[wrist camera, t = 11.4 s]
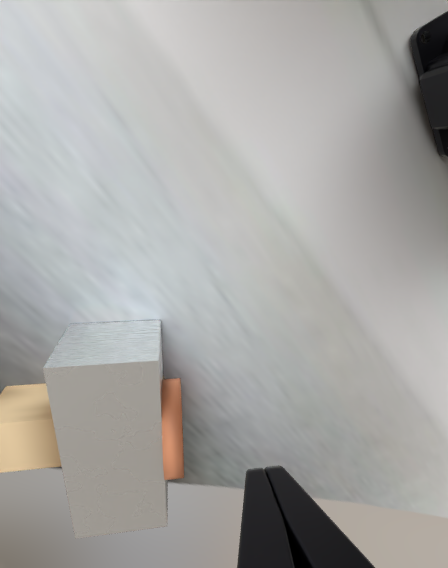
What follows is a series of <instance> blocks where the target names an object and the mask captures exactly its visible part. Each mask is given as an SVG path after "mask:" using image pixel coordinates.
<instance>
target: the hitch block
mask: <svg viewBox="0 0 448 568" xmlns="http://www.w3.org/2000/svg"><path fill="white" fill-rule="evenodd" d="M43 371H44V376H45V381H46V386H47V392H48V397H49V402H50V408H51V413H52V418H53V423H54V429H55V434H56V439H57V444H58V450H59V455H60V460H61V466H62V471H63V476H64V481H65V487H66V492H67V497H68V502H69V508H70V513H71V518H72V524H73V529H74V534H75V538H76V539H77V538H84V537H91V536H99V535H106V534H112V533H121V532H127V531H135V530H143V529H150V528H158V527H165V526H167V480H164V471H163V449H162V381H163V359H162V338H161V320H145V321H124V322H103V323H82V324H69V326H68V328H67V329H66V331H65V332H64V334H63V336H62V337H61V339H60V341H59V342H58V344H57V346H56V347H55V349H54V351H53V352H52V354H51V356H50V357H49V359H48V361H47V362H46V364H45V366H44V367H43Z"/></svg>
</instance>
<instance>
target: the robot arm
mask: <svg viewBox="0 0 448 568" xmlns="http://www.w3.org/2000/svg"><path fill="white" fill-rule="evenodd" d="M422 34H423V35H424V36H425V42H424V43H422V41H421V36H422ZM411 48H412V51H413V55H414V59H415V63H416V67H417V71H418V75H419V78H420V85H421V89H422V93H423V97H424V101H425V105H426V109H427V112H428V116H429V120H430V124H431V127H432V129H433V133H434V136H435V140H436V144H437V148H438V152H439V154H440V155H441V156H442V157H448V11H447V12H445V13H443V14H442V15H440V16H438V17H437V18H435V19H433V20H432V21H430V22H428V23H427V24H425V25H423V26H422V27H420V28H418V29H417V30H416V31H415V32H414V33H413V35H412V37H411ZM237 568H375V567H374V566H373V565H372V564H371V563H370V561H369V560H368V559H367V558H366V557H365V556H364V555H363V554H362V553H361V552H360V551H359V549H358V548H357V547H356V546H355V545H354V544H353V543H352V542H351V541H350V540H349V539H348V537H347V536H346V535H345V534H344V533H343V532H342V531H341V530H340V529H339V528H338V526H337V525H336V524H335V523H334V522H333V521H332V520H331V519H330V518H329V517H328V516H327V515H326V513H325V512H324V511H323V510H322V509H321V508H320V507H319V506H318V505H317V504H316V503H315V501H314V500H313V499H312V498H311V497H310V496H309V495H308V494H307V493H306V492H305V491H304V489H303V488H302V487H301V486H300V485H299V484H298V483H297V482H296V481H295V480H294V479H293V477H292V476H291V475H290V474H289V473H288V472H287V471H286V470H285V469H284V468H283V467H282V466H272V467H266V468H265V469H263V468H254V469H248V470H247V472H246V480H245V491H244V503H243V513H242V523H241V533H240V545H239V555H238V565H237Z"/></svg>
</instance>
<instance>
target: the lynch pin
mask: <svg viewBox="0 0 448 568" xmlns="http://www.w3.org/2000/svg"><path fill="white" fill-rule="evenodd" d="M162 449H163V471H164V480H170V479H178V478H184V460H183V429H182V403H181V382H180V378H175V379H164V375H163V381H162ZM59 466H61V460H60V455H59V450H58V444H57V439H56V434H55V429H54V423H53V418H52V413H51V408H50V402H49V397H48V392H47V386H46V384H33V385H18V386H6V387H5V389H4V390H3V392H2V393H1V394H0V473H2V472H11V471H21V470H30V469H40V468H49V467H59Z"/></svg>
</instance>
